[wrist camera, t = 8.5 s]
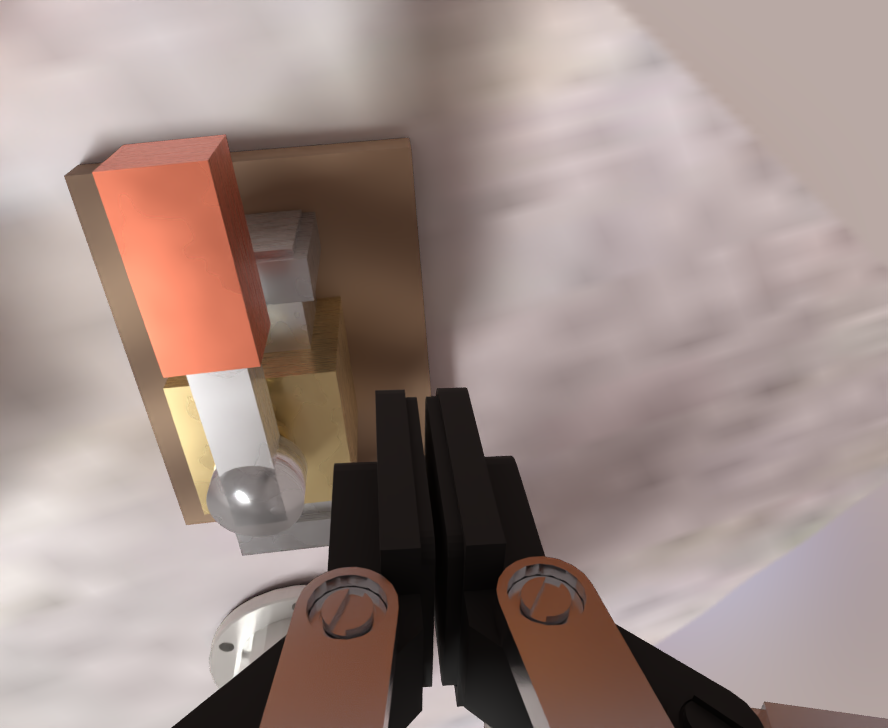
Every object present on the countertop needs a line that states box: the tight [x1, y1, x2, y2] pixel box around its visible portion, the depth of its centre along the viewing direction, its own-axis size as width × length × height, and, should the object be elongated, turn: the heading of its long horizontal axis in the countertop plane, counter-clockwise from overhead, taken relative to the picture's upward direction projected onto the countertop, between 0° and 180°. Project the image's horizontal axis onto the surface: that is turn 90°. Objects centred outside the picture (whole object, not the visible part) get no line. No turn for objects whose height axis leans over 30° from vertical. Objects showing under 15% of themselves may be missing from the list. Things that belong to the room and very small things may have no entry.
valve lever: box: [92, 135, 308, 537], centre depth 22 cm, size 13×3×3 cm, turn 5°
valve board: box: [64, 138, 431, 525], centre depth 32 cm, size 18×13×2 cm
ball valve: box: [163, 210, 358, 556], centre depth 28 cm, size 14×6×7 cm, turn 3°
